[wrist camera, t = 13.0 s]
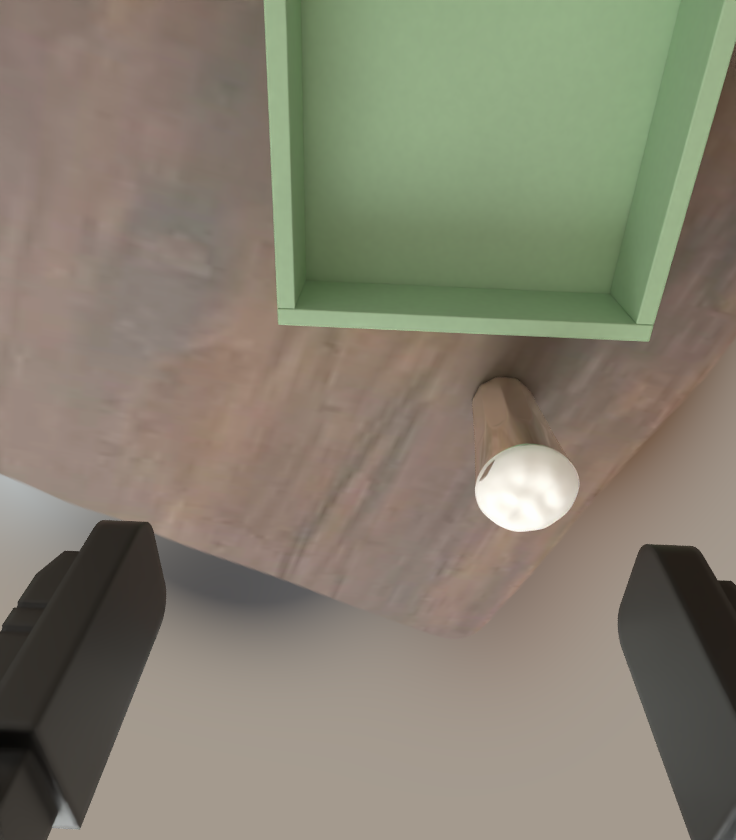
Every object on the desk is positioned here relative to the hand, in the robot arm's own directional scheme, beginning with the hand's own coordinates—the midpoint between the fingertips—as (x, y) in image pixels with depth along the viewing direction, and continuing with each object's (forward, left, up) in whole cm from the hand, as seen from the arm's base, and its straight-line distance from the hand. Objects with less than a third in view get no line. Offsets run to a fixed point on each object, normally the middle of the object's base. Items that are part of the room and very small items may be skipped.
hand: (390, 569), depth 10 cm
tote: (-5, +3, -23) cm, 24 cm away
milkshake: (+9, +6, -23) cm, 26 cm away
